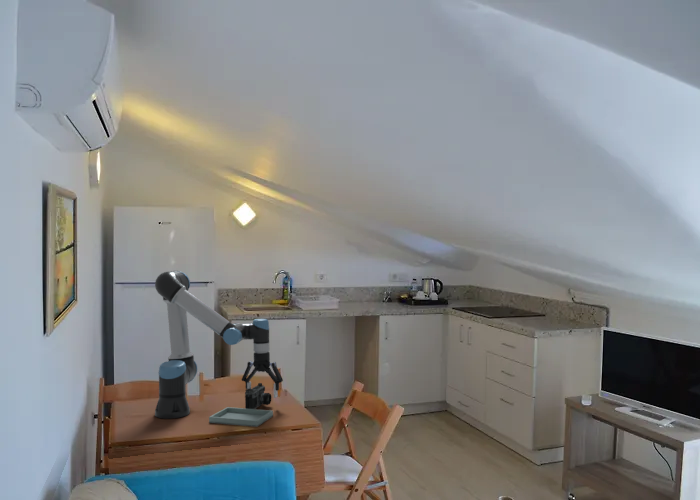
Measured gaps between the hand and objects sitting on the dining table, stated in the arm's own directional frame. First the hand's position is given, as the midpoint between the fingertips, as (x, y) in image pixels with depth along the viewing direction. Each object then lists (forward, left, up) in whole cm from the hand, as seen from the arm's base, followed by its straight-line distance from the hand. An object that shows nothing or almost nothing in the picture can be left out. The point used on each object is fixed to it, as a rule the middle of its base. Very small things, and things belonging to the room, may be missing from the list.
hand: (262, 396), depth 280 cm
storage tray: (0, -21, -5) cm, 22 cm away
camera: (-1, 0, -5) cm, 5 cm away
